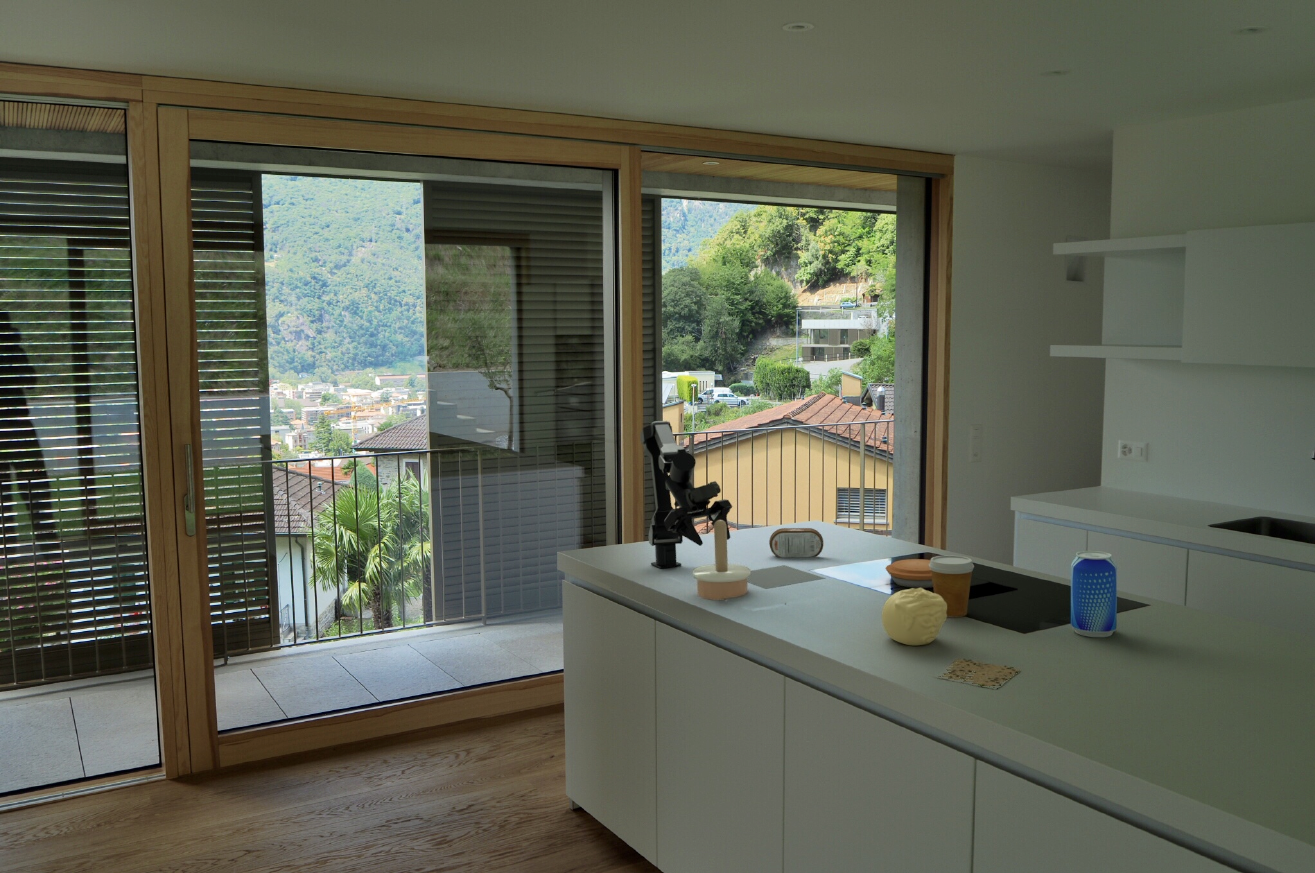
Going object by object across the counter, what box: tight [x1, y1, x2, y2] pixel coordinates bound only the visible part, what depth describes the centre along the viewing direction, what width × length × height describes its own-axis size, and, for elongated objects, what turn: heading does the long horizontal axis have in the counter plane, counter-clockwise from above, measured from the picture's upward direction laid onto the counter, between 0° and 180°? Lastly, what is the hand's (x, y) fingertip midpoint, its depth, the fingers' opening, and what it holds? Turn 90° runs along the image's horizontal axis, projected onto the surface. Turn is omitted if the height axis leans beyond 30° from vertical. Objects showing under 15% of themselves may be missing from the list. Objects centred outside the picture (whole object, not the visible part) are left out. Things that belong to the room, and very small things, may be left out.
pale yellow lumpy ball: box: [881, 588, 948, 646], centre depth 197 cm, size 12×12×11 cm
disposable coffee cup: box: [929, 554, 975, 618], centre depth 215 cm, size 10×10×12 cm
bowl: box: [696, 579, 749, 601], centre depth 240 cm, size 12×12×4 cm
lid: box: [692, 520, 752, 582], centre depth 239 cm, size 14×14×14 cm
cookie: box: [938, 658, 1021, 688], centre depth 177 cm, size 12×12×1 cm
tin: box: [768, 527, 824, 558], centre depth 275 cm, size 15×3×8 cm, turn 84°
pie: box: [885, 558, 933, 589], centre depth 244 cm, size 15×16×5 cm
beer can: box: [1070, 550, 1118, 638], centre depth 198 cm, size 8×8×16 cm
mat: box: [747, 564, 826, 590], centre depth 253 cm, size 18×18×1 cm
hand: (715, 541), depth 241 cm, fingers open, 9 cm apart
